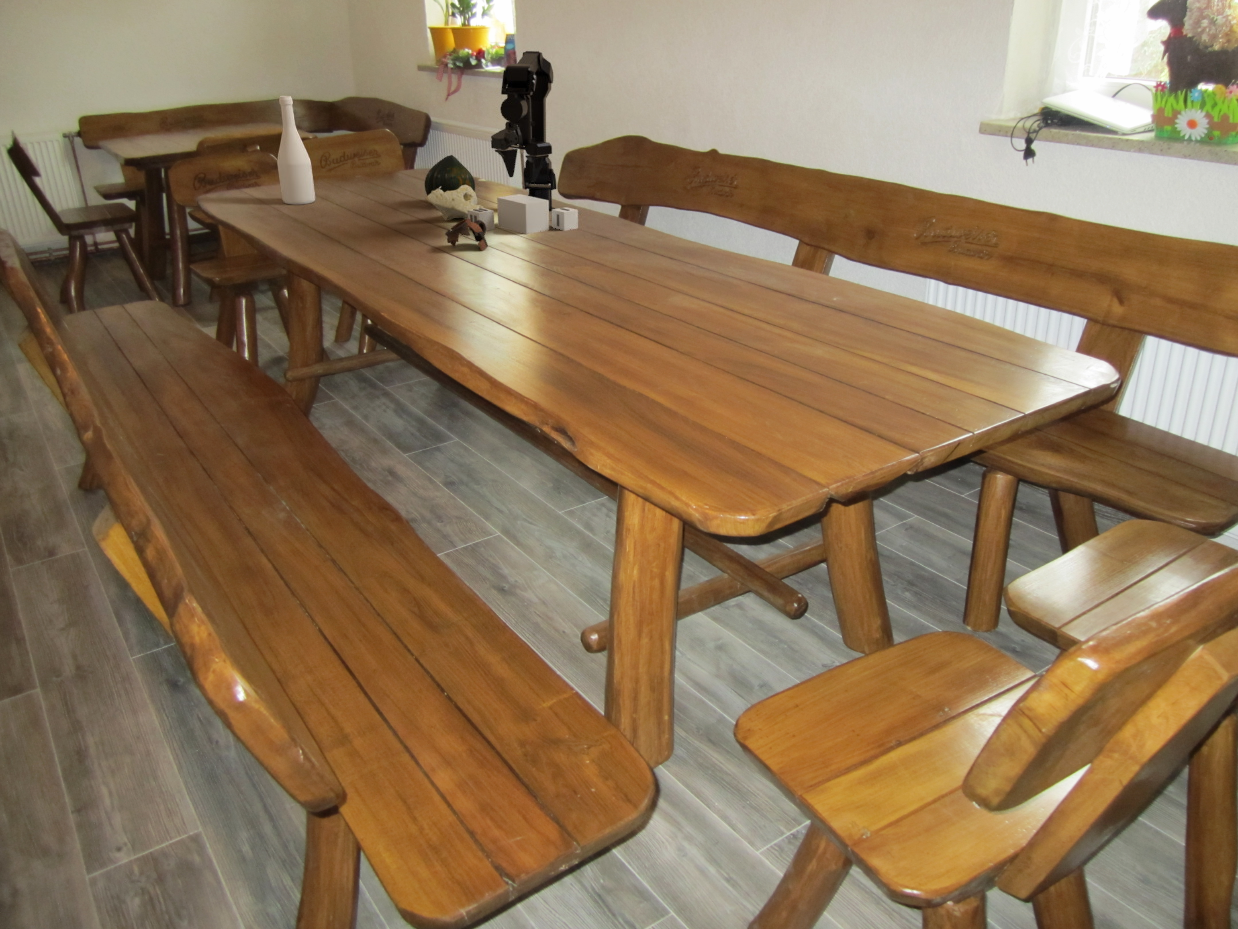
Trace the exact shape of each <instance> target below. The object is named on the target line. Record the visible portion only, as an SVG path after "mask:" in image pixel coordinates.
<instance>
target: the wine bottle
mask: <svg viewBox="0 0 1238 929" xmlns="http://www.w3.org/2000/svg"><path fill="white" fill-rule="evenodd" d="M278 101H279V105H280V108H281V118H282V119H281V120H282V133H281V137H280V138H281V139H280V144H279V149H278V154H277V160H276V163H277V171H278V177H279V178H278V179H279V184H280V191H281V192H280V193H281V198H282V201H283V203H284V204H287V205H295V206H296V205H299V206H300V205H307V204H312V203H314V202H315V201H316V193H315V185H314V177H313V170H312V169H313V168H312V161H311V159H310V156H309V154H308V151H307V149H306V147H305V145H304V142H303V140H302V138H301V136H300V134H299V132H298V130H297V126H296V122H295V115H294V107H293V104H294V103H293V98H292V96H291V95H280V96H279V98H278Z"/></svg>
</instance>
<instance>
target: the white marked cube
mask: <svg viewBox="0 0 1238 929" xmlns="http://www.w3.org/2000/svg"><path fill="white" fill-rule="evenodd" d="M494 211H495V210H492V209H488V208H478V209H472V210H468V218H469V219H470V221H471V222H475V221H477V220H481V221H483V222H484V223H485V225H486V231H491V230H495V227H496V226H495V212H494Z"/></svg>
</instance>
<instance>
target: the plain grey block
mask: <svg viewBox="0 0 1238 929" xmlns="http://www.w3.org/2000/svg"><path fill="white" fill-rule="evenodd" d="M496 199H497V200H496V202H497V226H498V228H502V229H505V230H509V231H513V232H517V233H521V234H525V235H529V233H530V234H536V233H539V232H540V231H541V232H544V231H545V230H546V231H549V230H550V211H549V200H544V199H540V198H535V197H531V196H528V195H526V194H522V193H517V194H511V195H505V196H499V197H496ZM546 231H545V232H546ZM541 232H540V233H541Z"/></svg>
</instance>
